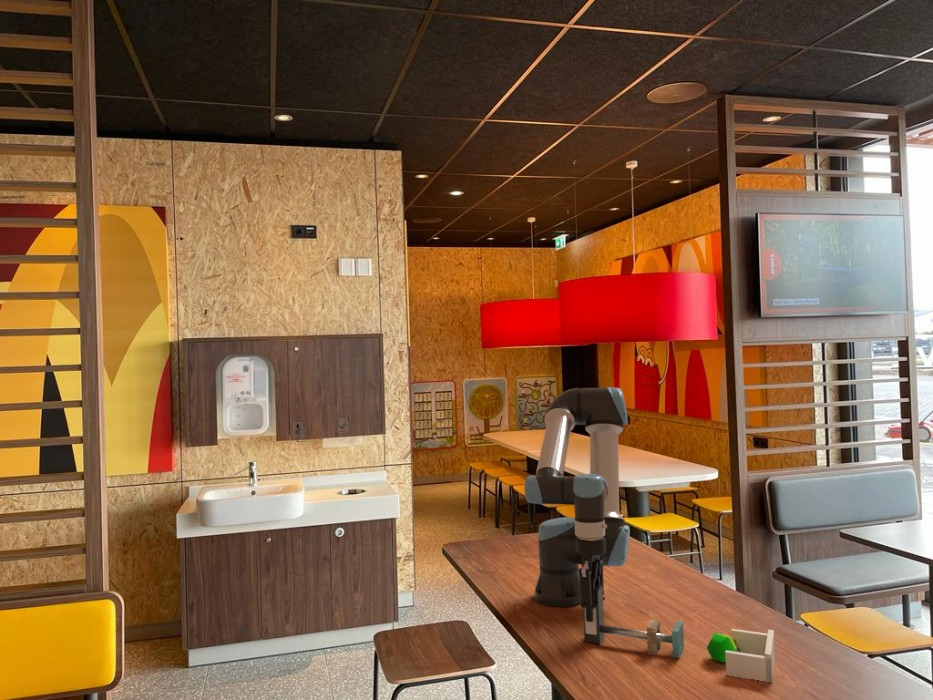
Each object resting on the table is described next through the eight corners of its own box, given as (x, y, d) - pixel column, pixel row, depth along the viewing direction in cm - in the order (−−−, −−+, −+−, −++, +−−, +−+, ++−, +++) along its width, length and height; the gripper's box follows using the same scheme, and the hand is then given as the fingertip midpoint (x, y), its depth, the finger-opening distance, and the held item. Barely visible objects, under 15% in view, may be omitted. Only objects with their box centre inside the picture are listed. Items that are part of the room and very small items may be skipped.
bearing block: (647, 653, 158) (646, 627, 158) (652, 644, 163) (651, 619, 163) (656, 655, 157) (655, 628, 157) (661, 646, 162) (660, 620, 162)
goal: (726, 675, 146) (725, 647, 146) (732, 649, 159) (731, 624, 159) (772, 683, 142) (770, 654, 142) (775, 656, 155) (773, 630, 155)
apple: (713, 632, 151) (734, 621, 157) (695, 644, 155) (717, 633, 161) (733, 662, 148) (754, 650, 153) (715, 674, 151) (736, 662, 157)
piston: (582, 643, 165) (580, 590, 165) (590, 633, 171) (588, 582, 171) (679, 659, 154) (676, 602, 154) (684, 647, 160) (681, 593, 161)
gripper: (594, 546, 158) (598, 645, 158) (614, 530, 173) (617, 620, 173) (564, 543, 162) (568, 640, 161) (586, 527, 177) (589, 616, 176)
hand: (594, 629), depth 167 cm, fingers closed on piston, 4 cm apart
